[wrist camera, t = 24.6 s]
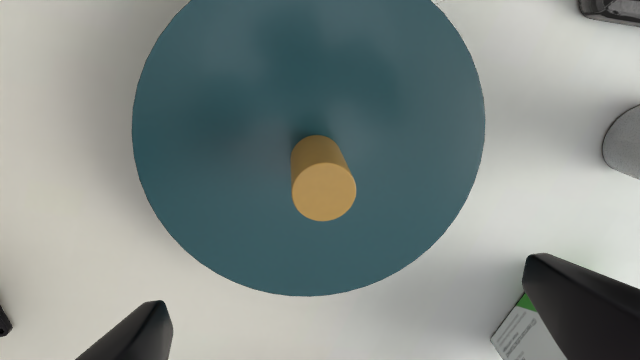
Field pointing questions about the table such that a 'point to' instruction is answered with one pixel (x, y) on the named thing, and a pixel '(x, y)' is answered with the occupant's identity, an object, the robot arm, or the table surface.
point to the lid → (308, 137)
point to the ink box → (525, 336)
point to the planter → (624, 144)
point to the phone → (612, 11)
